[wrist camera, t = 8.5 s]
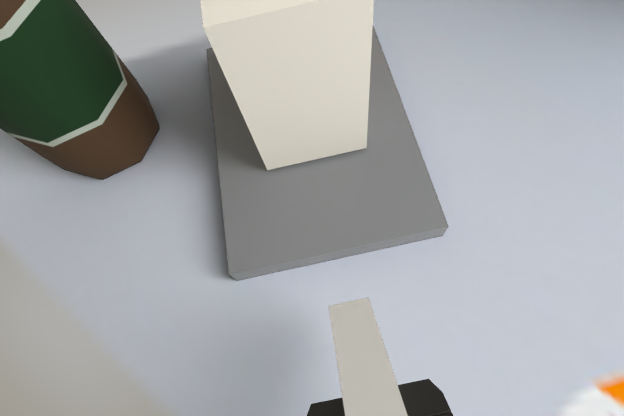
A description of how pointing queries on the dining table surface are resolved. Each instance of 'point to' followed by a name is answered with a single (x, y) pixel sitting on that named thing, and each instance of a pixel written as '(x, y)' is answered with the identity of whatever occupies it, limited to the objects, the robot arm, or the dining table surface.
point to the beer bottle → (69, 90)
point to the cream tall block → (296, 72)
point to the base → (322, 187)
